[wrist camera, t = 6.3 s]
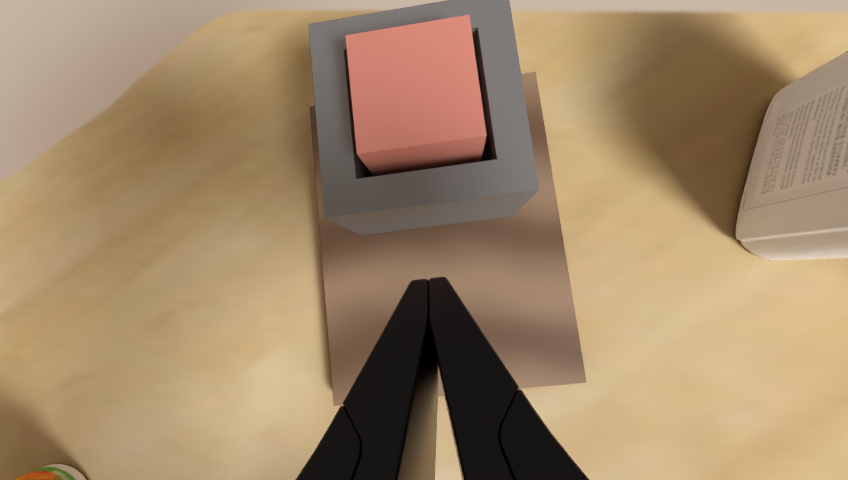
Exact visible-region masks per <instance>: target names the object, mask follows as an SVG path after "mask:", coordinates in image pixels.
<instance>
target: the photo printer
mask: <svg viewBox="0 0 848 480" xmlns="http://www.w3.org/2000/svg"><path fill="white" fill-rule="evenodd" d="M736 238H737V240H740V241H741V244H742V245H743V246H744V247H745V248H746V249H747V250H748V251H750V252H751V253H753V254H755V255H757V256H759V257H761V258H765V259H769V260H795V259H830V258H848V51H847V52H845V53H844V54H842V55H840V56H838V57H837V58H835V59H833V60H831V61H829V62H828V63H826V64H824V65H822V66H820V67H819V68H817V69H815V70H814V71H812V72H810V73H808V74H806V75H805V76H803V77H801V78H799V79H797V80H796V81H794V82H792V83H790V84H789V85H787V86H785V87H784V88H783V89H781V90H780V91H778V92H777V93H776V95H775V96H774V97H773V99H772V101H771V103H770V105H769V107H768V109H767V111H766V114H765V117H764V120H763V124H762V127H761V130H760V133H759V137H758V141H757V144H756V147H755V151H754V154H753V158H752V162H751V165H750V169H749V173H748V177H747V181H746V184H745V188H744V192H743V195H742V199H741V204H740V208H739V213H738V217H737V223H736Z"/></svg>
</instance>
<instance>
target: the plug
mask: <svg viewBox="0 0 848 480" xmlns="http://www.w3.org/2000/svg"><path fill="white" fill-rule="evenodd" d="M345 36H346V46H347V56H348V67H349V77H350V88H351V98H352V109H353V119H354V129H355V140H356V150H357V155H358V156H359V158H360V159H361V160H362V161H363V163H364V164H365V165H366V167H367V168H368V169H369V170H370V172H371V173H372V174H373V176H381V175H388V174H396V173H403V172H410V171H417V170H424V169H432V168H439V167H446V166H453V165H460V164H468V163H475V162H481V158H482V154H483V149H484V145H485V141H486V136H487V134H486V127H485V120H484V113H483V106H482V99H481V92H480V85H479V78H478V71H477V64H476V57H475V50H474V43H473V36H472V29H471V22H470V15H464V16H458V17H452V18H446V19H440V20H434V21H428V22H422V23H416V24H410V25H404V26H398V27H393V28H387V29H381V30H375V31H369V32H363V33H357V34H351V35H345Z"/></svg>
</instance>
